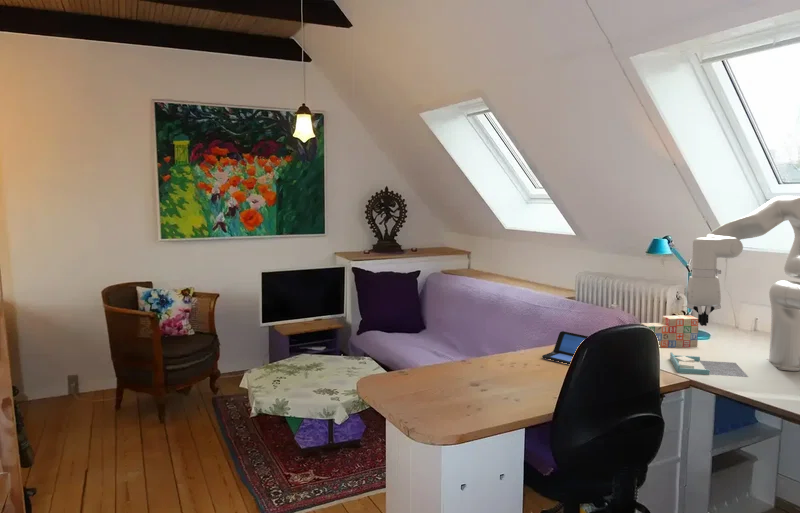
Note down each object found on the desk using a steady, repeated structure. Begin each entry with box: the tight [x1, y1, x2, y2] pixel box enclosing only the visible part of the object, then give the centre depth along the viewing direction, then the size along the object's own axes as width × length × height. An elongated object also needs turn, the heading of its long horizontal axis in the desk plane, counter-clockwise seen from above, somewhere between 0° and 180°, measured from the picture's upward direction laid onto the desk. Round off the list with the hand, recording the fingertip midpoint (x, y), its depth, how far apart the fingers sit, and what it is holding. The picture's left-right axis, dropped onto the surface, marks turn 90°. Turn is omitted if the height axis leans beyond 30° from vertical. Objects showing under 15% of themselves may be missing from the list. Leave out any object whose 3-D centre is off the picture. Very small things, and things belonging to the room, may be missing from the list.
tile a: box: [675, 355, 695, 364], centre depth 215 cm, size 5×4×3 cm
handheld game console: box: [542, 330, 589, 364], centre depth 228 cm, size 16×13×9 cm
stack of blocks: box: [640, 314, 699, 349], centre depth 244 cm, size 21×6×12 cm, turn 91°
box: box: [669, 352, 710, 376], centre depth 211 cm, size 10×17×4 cm, turn 163°
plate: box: [699, 360, 749, 378], centre depth 208 cm, size 12×17×2 cm
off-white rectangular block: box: [679, 361, 695, 369], centre depth 209 cm, size 5×4×3 cm
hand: (703, 324), depth 205 cm, fingers closed
